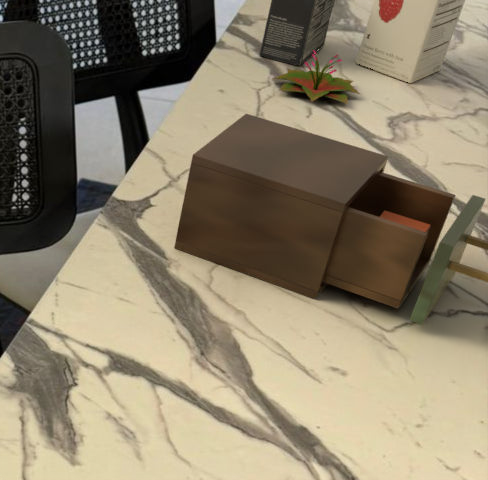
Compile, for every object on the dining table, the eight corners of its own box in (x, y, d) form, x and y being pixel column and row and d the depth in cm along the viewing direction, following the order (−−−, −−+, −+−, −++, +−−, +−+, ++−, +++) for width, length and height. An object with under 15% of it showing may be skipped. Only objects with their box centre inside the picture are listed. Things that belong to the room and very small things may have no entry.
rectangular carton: (352, 64, 143) (386, -53, 133) (385, 51, 148) (420, -63, 138) (410, 85, 138) (450, -35, 128) (442, 71, 143) (483, -45, 133)
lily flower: (263, 97, 131) (271, 61, 128) (275, 67, 139) (284, 32, 136) (357, 116, 129) (368, 79, 125) (364, 84, 137) (375, 49, 134)
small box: (281, 36, 149) (300, -42, 142) (324, 47, 147) (345, -32, 140) (255, 55, 142) (274, -25, 135) (300, 67, 140) (321, -14, 133)
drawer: (515, 293, 96) (550, 218, 91) (487, 348, 89) (524, 269, 84) (321, 228, 103) (344, 155, 98) (280, 274, 96) (302, 197, 91)
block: (415, 266, 96) (431, 224, 94) (402, 286, 94) (418, 243, 91) (369, 251, 98) (384, 209, 95) (355, 270, 95) (370, 227, 92)
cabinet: (358, 247, 103) (388, 156, 96) (315, 299, 95) (345, 204, 88) (225, 202, 108) (246, 113, 102) (173, 248, 100) (192, 154, 93)
